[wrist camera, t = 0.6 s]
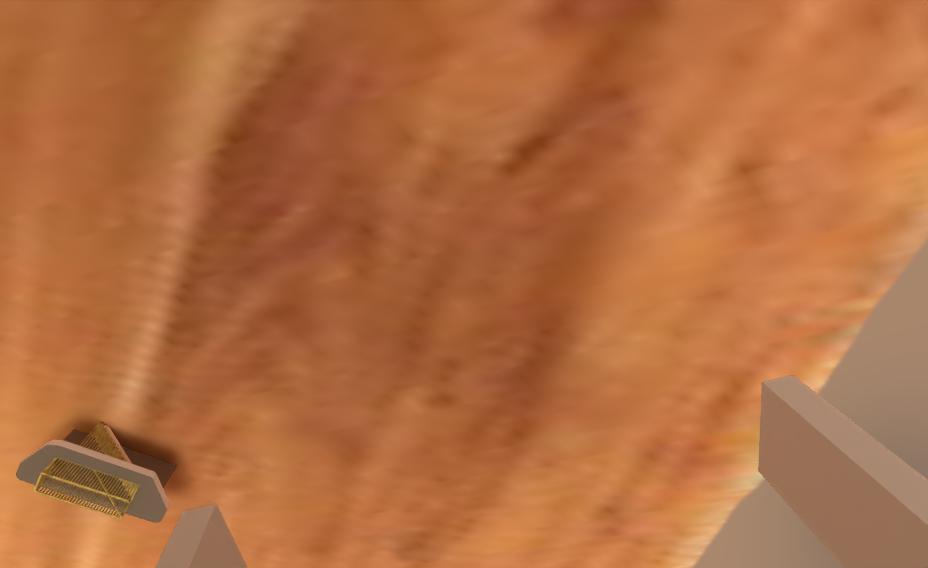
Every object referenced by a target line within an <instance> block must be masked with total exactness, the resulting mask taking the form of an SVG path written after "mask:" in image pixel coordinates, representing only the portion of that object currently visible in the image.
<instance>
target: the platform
mask: <svg viewBox="0 0 928 568" xmlns="http://www.w3.org/2000/svg"><path fill="white" fill-rule="evenodd" d="M103 423H104V422H103ZM103 423H102V424H101V421H100V422H99V424H98V425H97V426H98V427H97V426H96V427H95V428H94V429H93V430H92V432H93V431H94V430H95V429H96V428H97V429H96V431H95V432H94V433H93V434H92V435H90V434H91V433H92V432H91V433H90V434H89V435H88V434H85V433H82V432H79V431H76V430H73V431H72V432H71V433H70V434H69V435H68V436H67V437H66V438H65V439H64V440H51V441H49V442H48V443H46V444H45V445H43V446H42V447H40V448H39V449H38V450H36V451H35V452H33V453H32V454H30V455H29V456H27V457H26V458H25V459H24V460H23V461H22V462H21V463H20V465H19V468H18V470H17V473H16V476H17V478H18V479H20V480H22V481H25V482H28V483H31V484H34V485H36V486H35V488H34V490H33V492H35V493H39V494H42V495H45V496H48V497H51V498H55V499H58V500H61V501H64V502H67V503H70V504H74V505H77V506H80V507H83V508H86V509H90V510H93V511H96V512H99V513H102V514H105V515H109V516H112V517H115V518H118V519H122V517H123V515H124V514H125V513H126V514H129V515H132V516H135V517H138V518H141V519H145V520H148V521H151V522H155V523H157V522H160V521H161V520H162V519H163V517H164V515H165V513H166V511H167V509H168V507H169V505H170V503H169V500H168V498H167V496H166V494H165V492H164V489H163V488H164V486H165V485H166V483H167V481H168V480H169V478H170V476H171V474H172V473H173V471H174V469H175V468H176V466H177V465H174V464H171V463H168V462H165V461H162V460H160V459H157V458H154V457H151V456H148V455H145V454H142V453H139V452H137V451H134V450H131V449H128V448H125V447H122V446H121V445H120V443H119V442H118V440H117V439H116V437H115V435H114V434H113V432H112V431H111V429H110V427H109V426H106V425H103ZM93 435H94V436H93ZM39 486H40V487H43V488H46V489H49V490H52V491H55V492H56V491H57V492H58V493H59V492H60V493H61V494H62V493H63V494H64V495H65V494H66V495H67V496H68V495H69V498H70V497H71V496H72V499H73V498H74V497H75V500H76V499H77V498H79V499H78V500H77V502H78V501H79V500H80V499H82V500H81V501H80V503H81V502H82V501H83V500H85V501H88V502H91V503H93V505H94V504H96V505H95V507H96V506H97V505H99V506H98V508H99V507H100V505H101V506H102V507H103V506H104V507H105V508H106V507H107V508H108V509H109V508H110V511H111V510H112V509H113V511H112V513H113V512H114V510H116V512H117V513H118V514H117V516H115V514H116V512H115V514H114V515H112V513H111V514H109V512H110V511H109V512H108V513H106V512H107V510H108V509H107V510H106V511H105V512H103V511H104V510H105V508H104V509H103V511H100V510H101V509H102V507H101V508H100V510H97V509H98V508H97V509H95V507H94V508H92V506H93V505H92V506H91V507H89V506H90V504H91V503H90V504H89V505H88V507H87V506H86V505H87V504H88V502H87V503H86V504H85V506H83V504H84V503H85V501H84V502H83V504H82V505H80V503H79V504H77V502H76V503H74V501H75V500H74V501H73V502H71V500H72V499H71V500H70V501H68V500H69V498H68V499H67V500H65V499H66V497H67V496H66V497H65V498H64V499H62V498H63V496H64V495H63V496H62V497H61V498H59V497H60V496H61V494H60V495H59V496H58V497H56V496H57V495H58V493H57V494H56V495H55V496H53V495H54V494H55V492H54V493H53V494H52V495H50V494H51V493H52V491H51V492H50V493H49V494H47V493H48V492H49V490H48V491H47V492H46V493H44V492H45V491H46V489H45V490H44V491H43V492H41V491H42V490H43V488H42V489H41V490H40V491H38V490H39V489H40V487H39ZM38 487H39V488H38ZM120 512H122V513H120ZM118 515H119V517H118Z"/></svg>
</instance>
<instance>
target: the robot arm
mask: <svg viewBox="0 0 928 568" xmlns="http://www.w3.org/2000/svg"><path fill="white" fill-rule="evenodd" d="M758 471H759V472H760V473H761V474H762V476H763V477H764V478H765V479H766V480H767V481H768V482H769V483H770V485H771V486H772V487H773V488H774V489H775V490H776V491H777V492H778V493H779V495H780V496H781V497H782V498H783V499H784V500H785V501H786V502H787V504H788V505H789V506H790V507H791V508H792V509H793V510H794V511H795V512H796V514H797V515H798V516H799V517H800V518H801V519H802V520H803V522H804V523H805V524H806V525H807V526H808V527H809V528H810V529H811V530H812V532H813V533H814V534H815V535H816V536H817V537H818V538H819V540H820V541H821V542H822V543H823V544H824V545H825V546H826V547H827V548H828V550H829V551H830V552H831V553H832V554H833V555H834V556H835V557H836V559H837V560H838V561H839V562H840V563H841V564H842V565H843V566H844V568H928V480H927V479H926V478H924V477H923V476H922V475H921V474H919V473H918V472H917V471H915V470H914V469H913V468H912V467H910V466H909V465H908V464H906V463H905V462H904V461H903V460H901V459H900V458H899V457H897V456H896V455H895V454H894V453H892V452H891V451H890V450H888V449H887V448H886V447H885V446H883V445H882V444H881V443H879V442H878V441H877V440H876V439H874V438H873V437H871V436H870V435H869V434H868V433H867V432H865V431H864V430H863V429H861V428H860V427H859V426H858V425H856V424H855V423H854V422H852V421H851V420H850V419H849V418H847V417H846V416H845V415H844V414H842V413H841V412H840V411H838V410H837V409H836V408H835V407H833V406H832V405H831V404H829V403H828V402H827V401H825V400H824V399H823V398H822V397H820V396H819V395H818V394H817V393H815V392H814V391H813V390H811V389H810V388H809V387H808V386H806V385H805V384H804V383H802V382H801V381H800V380H799V379H797V378H796V377H795V376H793V375H791V376H786V377H782V378H777V379H773V380H768V381H764V382H762V394H761V418H760V442H759V467H758ZM155 568H247V566H246V564H245V562H244V559H243V557H242V555H241V553H240V551H239V549H238V547H237V545H236V543H235V541H234V539H233V537H232V535H231V533H230V531H229V529H228V526H227V524H226V522H225V520H224V518H223V516H222V514H221V512H220V510H219V508H218V506H217V504H213V505H208V506H204V507H199V508H195V509H190V510H186V511H183V513H182V515H181V517H180V519H179V521H178V523H177V525H176V527H175V529H174V531H173V533H172V535H171V537H170V539H169V541H168V543H167V545H166V547H165V549H164V551H163V553H162V555H161V557H160V559H159V561H158V563H157V565H156V567H155Z"/></svg>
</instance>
